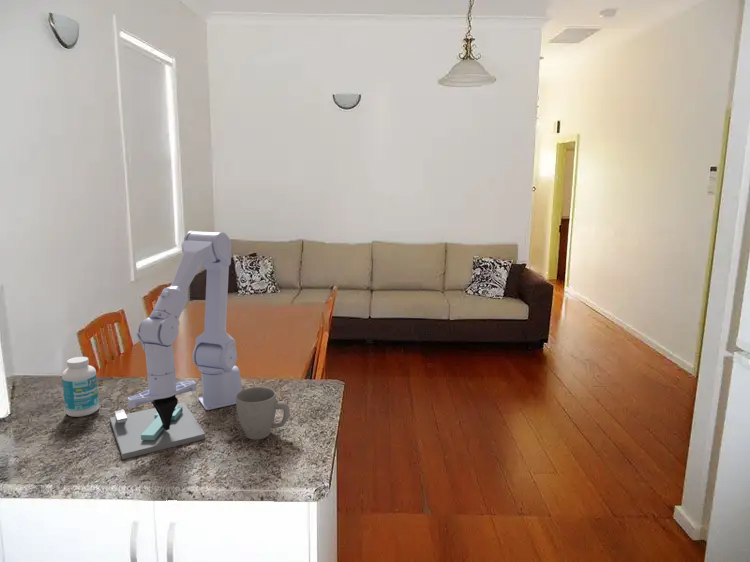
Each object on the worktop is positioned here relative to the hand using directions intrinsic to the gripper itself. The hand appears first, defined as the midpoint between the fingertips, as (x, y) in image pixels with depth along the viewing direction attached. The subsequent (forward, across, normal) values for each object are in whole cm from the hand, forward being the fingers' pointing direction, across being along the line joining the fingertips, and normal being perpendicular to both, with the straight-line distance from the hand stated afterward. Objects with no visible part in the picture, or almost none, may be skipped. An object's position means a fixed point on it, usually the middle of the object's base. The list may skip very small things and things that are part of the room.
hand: (166, 428), depth 124 cm
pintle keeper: (+2, +2, -9) cm, 9 cm away
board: (+2, +1, -5) cm, 5 cm away
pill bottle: (+2, +11, -26) cm, 29 cm away
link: (0, 0, -3) cm, 3 cm away
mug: (+2, -17, +13) cm, 22 cm away
